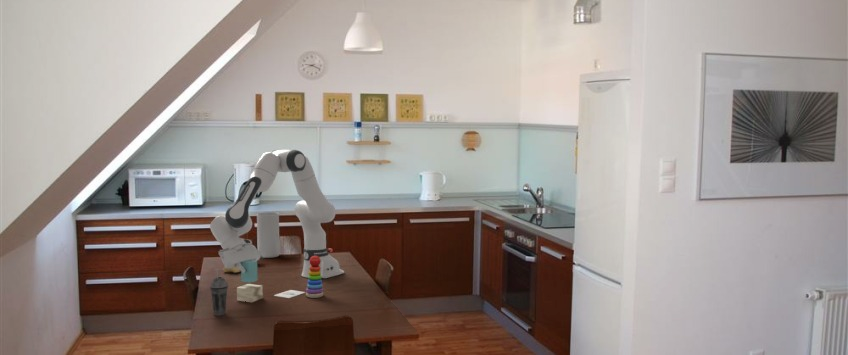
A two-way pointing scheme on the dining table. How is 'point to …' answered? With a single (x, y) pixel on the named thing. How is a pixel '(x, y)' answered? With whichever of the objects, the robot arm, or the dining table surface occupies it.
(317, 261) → the stacking toy
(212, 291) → the beverage cup
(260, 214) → the cylinder vase
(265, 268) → the dining table surface
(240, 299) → the base block
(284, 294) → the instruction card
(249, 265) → the teal brick
